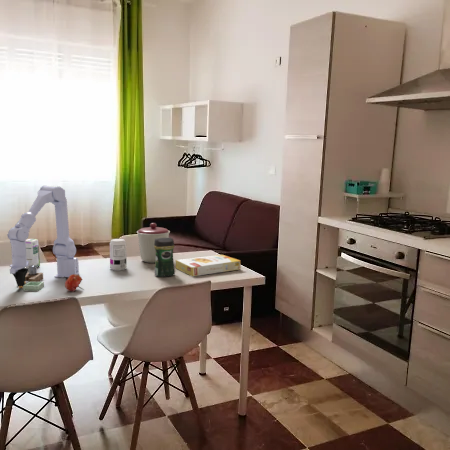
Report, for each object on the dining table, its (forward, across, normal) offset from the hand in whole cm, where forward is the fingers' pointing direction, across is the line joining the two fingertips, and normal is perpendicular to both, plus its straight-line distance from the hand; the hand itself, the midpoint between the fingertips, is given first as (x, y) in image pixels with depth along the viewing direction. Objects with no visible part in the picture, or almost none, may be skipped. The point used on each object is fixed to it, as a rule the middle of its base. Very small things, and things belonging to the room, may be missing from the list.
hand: (20, 285), depth 205 cm
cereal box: (+2, -41, +79) cm, 89 cm away
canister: (+2, -57, +48) cm, 75 cm away
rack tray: (+1, -1, +5) cm, 6 cm away
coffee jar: (+2, -27, +58) cm, 64 cm away
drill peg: (+1, -13, 0) cm, 13 cm away
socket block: (+1, -11, 0) cm, 11 cm away
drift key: (+1, -4, 0) cm, 4 cm away
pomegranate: (+2, +1, +24) cm, 24 cm away
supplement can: (+2, -38, +34) cm, 51 cm away
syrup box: (+2, -37, -10) cm, 39 cm away
